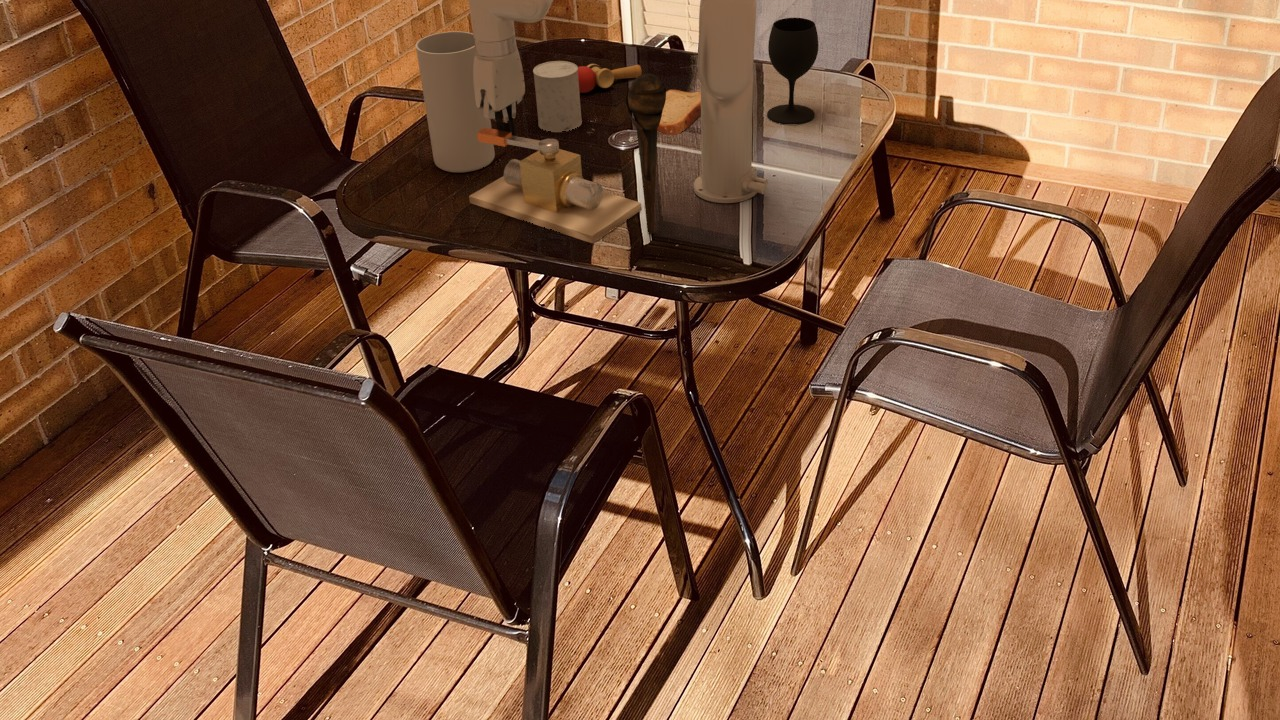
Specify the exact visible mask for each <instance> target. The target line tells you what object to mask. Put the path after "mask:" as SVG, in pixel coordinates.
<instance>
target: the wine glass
mask: <svg viewBox="0 0 1280 720" xmlns="http://www.w3.org/2000/svg"><path fill="white" fill-rule="evenodd" d="M767 51H768V58H769V61H770V63H771V65H772V66H773V68H774V69H775V71H776V72H777V73H778V74H779V75H781V76H782V77H783V78H785V79H787V81H788V87H789V88H788V90H789V91H788V92H789V93H788V94H789V95H788V96H789V97H788V104H780V105H777V106H776V105H775V106H773V107H770V108H769V110H768V111H767V113H766V117H767V118H768V119H769V121H771V120H772V123H775V122H776V124H779V123H780V125H784V124H798V125H803V124H806V123H809V122H811V121H813V119H814V118H815V117H816V116H815V111H814V110H813V109H812V108H810V107H808V106H805V105H801V104H794V103H795V101H794V99H795V97H794V96H795V87H796V86H795V85H796V81H797V80H798V79H799V78H801V77H803V76H804V75H805V74H806V73H808V72H809V71H810V70H811V69H812V67H813V65H815V62H816V60H817V57H818V52H819V36H818V31H817V26H816V23H815V22H814V21H813V20H811V19H808V18H804V17H803V18H802V17H786V18H780V19H778V20H776V21H774V22H773V24H772V25H771V29H770V33H769V37H768V50H767Z"/></svg>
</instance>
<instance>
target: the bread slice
mask: <svg viewBox="0 0 1280 720" xmlns="http://www.w3.org/2000/svg"><path fill="white" fill-rule="evenodd" d="M699 117H701V90H700V91H693V92H689V91H682V90H679V89H668V90H666V101H665V105H664V108H663V112H662V117H661V120H660V124H659V127H657V131H659V132H661V133H660V134H662V133H663V134H662V135H667V136H673V135H674V136H675V135H680V134H682V133H683V132H684V131H686V130H687V129H689V128H690V127H691V126H692V125H693V123H694V122H695V121H696V120H697V119H698V118H699ZM691 124H692V125H691ZM688 127H689V128H688ZM686 128H687V129H686ZM685 129H686V130H685ZM682 131H683V132H682ZM659 132H658V133H659ZM681 132H682V133H681ZM679 133H680V134H679Z"/></svg>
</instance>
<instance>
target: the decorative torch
mask: <svg viewBox="0 0 1280 720" xmlns="http://www.w3.org/2000/svg"><path fill="white" fill-rule="evenodd" d="M664 85H665V84H663V83H662V82H661V79H660V78H659V77H658V76H657V75H656V74H652V73H649V72H647V73H643V74H641V75H640V76H639V77H637V78H634V80H633V81H632V83H631V84H630V86H629V88H628V91H627V93H626V97H625V102H626V106H627V112H628V116H629V118H630V120H631V123H632V124H633V126H634V127H635V129H636V133H637V134H636V135H637V136H636V137H637V145H638V155H639V163H640V164H639V165H640V172H641V181H642V183H641V185H642V193H643V201H644V209H645V210H644V211H645V219H646V231H647V234H649V235H652V234H654V232H655V212H656V210H655V207H656V184H657V182H656V181H657V179H656V178H657V177H656V176H657V154H658V152H657V151H658V148H657V147H658V132H657V127H659V124H660V120H661V117H662V112H663V108H664V105H665V101H666V92H667V89H666V87H665V86H664Z"/></svg>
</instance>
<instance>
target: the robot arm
mask: <svg viewBox="0 0 1280 720" xmlns="http://www.w3.org/2000/svg"><path fill="white" fill-rule="evenodd" d="M467 1H468V6H469V13H470V22H471V27H472V33H473V36H474V44H475V51H476V57H474V66H473V79H474V94H475V102H476V106H477V108H479V109H481V108H484V118H486V119H490V120H493V121H494V122H495V123H496V130H501V131H507V132H511V134H512V136H517V131H516V122H515V118H516V117H517V107H518V105H519V104H520V103H521V101H522V100H523V97H524V95H525V93H526V85H525V84H526V83H525V77H524V69H523V65H522V60H521V55H520V52H519V49H518V47H517V39H516V30H515V22H520V23H525V24H526V23H527V24H529V23H530V24H532V23H537V22H539V21H542V19H544V18H545V17H546V15H547V14H548V12H549V10H550V8H551V7H552V5H553V2H554V0H467ZM698 12H699V13H698V14H699V15H698V46H697V47H698V50H697V51H698V52H697V53H698V54H697V56H698V57H697V76H698V81H699V83H700V91H701V114H700V130H701V131H700V136H701V138H700V143H701V145H700V147H701V150H700V152H701V153H700V154H701V155H700V156H701V157H700V158H701V159H700V161H701V174H700V175H699V176H698V177H696V179H695V180H694V181H693V192H694V193H695V195H696V196H698V197H699V198H701V199H703V200H705V201H708V202H711V203H716V204H717V203H718V204H733V203H740V202H745V201H748V200H750V199H751V198H753V197H754V196H755V195H757V194H761V195H765V194H766V193H767V191H768V183H769V180H768V179H767V178H763V177H758V175H757V167H755V166H752V155H753V153H752V148H753V147H752V146H753V145H752V143H753V142H752V141H753V139H752V138H753V109H754V108H753V106H754V104H753V103H754V102H753V101H754V99H753V98H754V97H753V96H754V65H755V64H754V60H755V59H754V58H755V39H756V24H757V23H756V21H757V0H700V2H699V11H698Z"/></svg>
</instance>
